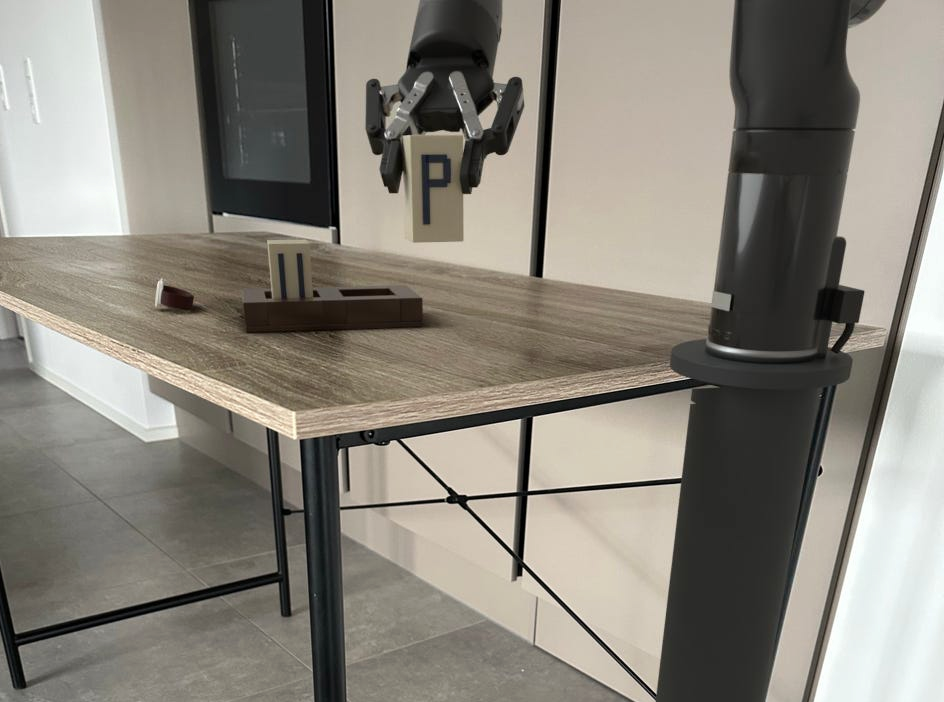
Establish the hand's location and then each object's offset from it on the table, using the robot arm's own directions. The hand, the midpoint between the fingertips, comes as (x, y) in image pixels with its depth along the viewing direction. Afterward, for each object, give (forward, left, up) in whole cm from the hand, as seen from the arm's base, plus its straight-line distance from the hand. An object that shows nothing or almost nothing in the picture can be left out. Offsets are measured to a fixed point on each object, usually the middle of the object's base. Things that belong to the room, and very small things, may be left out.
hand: (428, 185), depth 78 cm
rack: (+6, -28, -15) cm, 33 cm away
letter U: (+11, -28, -14) cm, 33 cm away
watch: (+24, -41, -15) cm, 50 cm away
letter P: (-1, -2, -4) cm, 5 cm away
